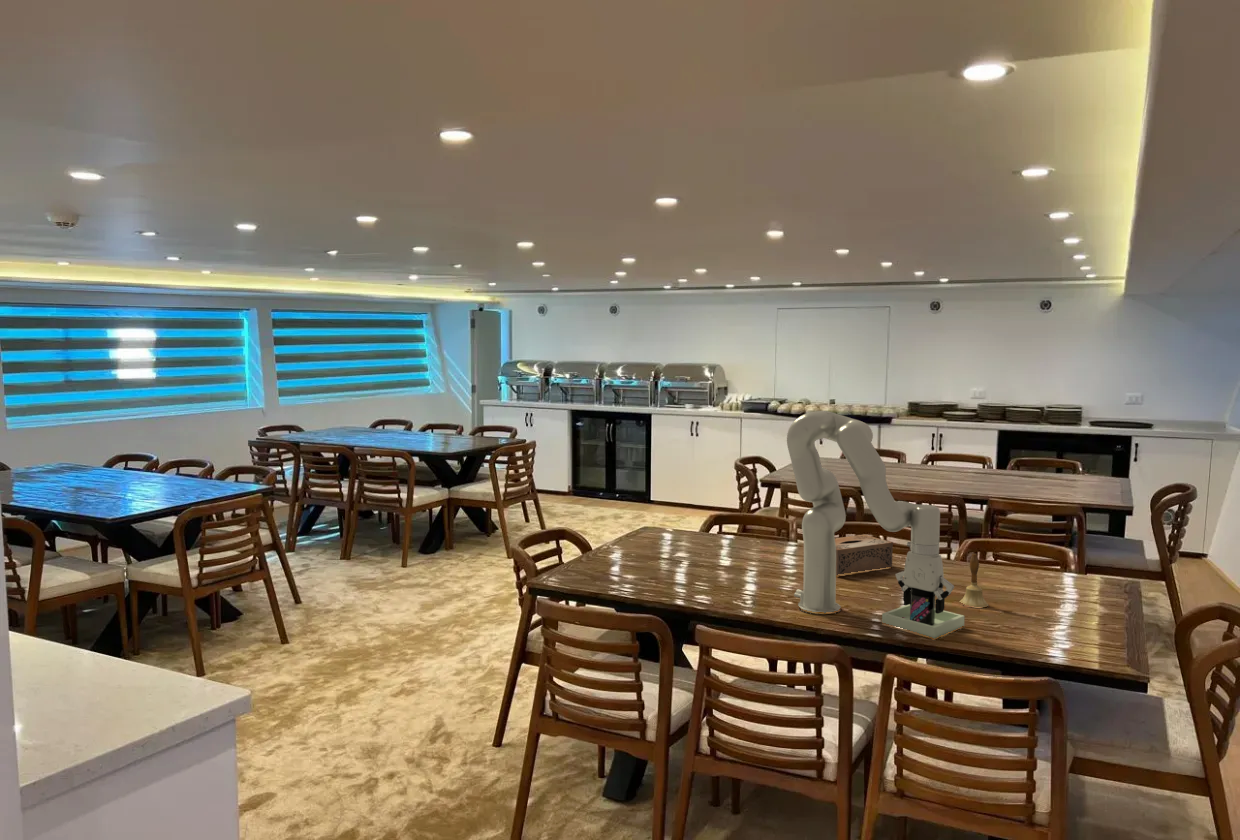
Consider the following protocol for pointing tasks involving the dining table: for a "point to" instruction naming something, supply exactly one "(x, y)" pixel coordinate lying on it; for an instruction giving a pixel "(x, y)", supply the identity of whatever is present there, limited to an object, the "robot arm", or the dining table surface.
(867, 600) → the dining table surface
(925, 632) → the tray
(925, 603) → the supplement container
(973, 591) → the hand bell
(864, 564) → the tissue box cover
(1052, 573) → the dining table surface
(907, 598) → the robot arm
